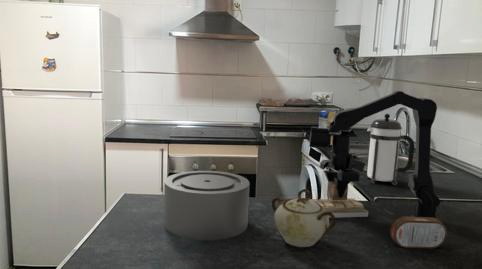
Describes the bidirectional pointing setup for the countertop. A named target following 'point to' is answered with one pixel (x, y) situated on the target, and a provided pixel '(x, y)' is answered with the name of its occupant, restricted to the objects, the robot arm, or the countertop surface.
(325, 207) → the pallet
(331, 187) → the brown wooden cube
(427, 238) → the tin
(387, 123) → the coffee press
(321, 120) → the beverage box
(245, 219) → the container
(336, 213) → the dock
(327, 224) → the sugar bowl
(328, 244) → the countertop surface
